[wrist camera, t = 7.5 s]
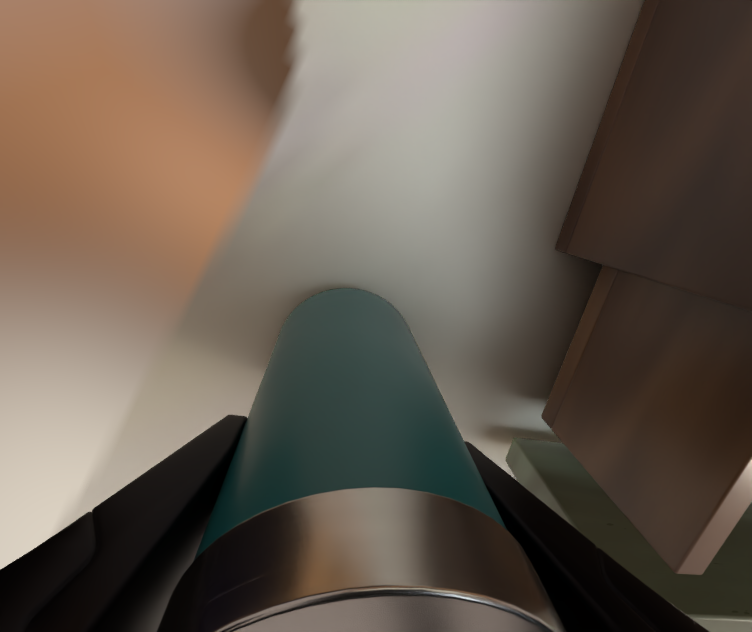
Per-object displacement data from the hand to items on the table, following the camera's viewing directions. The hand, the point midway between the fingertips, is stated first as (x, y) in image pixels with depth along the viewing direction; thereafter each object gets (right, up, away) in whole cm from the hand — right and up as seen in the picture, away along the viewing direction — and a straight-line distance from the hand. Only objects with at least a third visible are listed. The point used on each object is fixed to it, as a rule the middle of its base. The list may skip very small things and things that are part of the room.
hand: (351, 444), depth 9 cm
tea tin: (-1, +2, +5) cm, 5 cm away
